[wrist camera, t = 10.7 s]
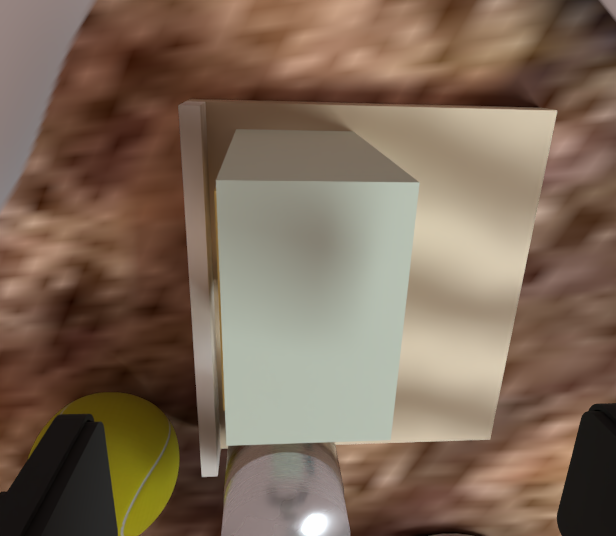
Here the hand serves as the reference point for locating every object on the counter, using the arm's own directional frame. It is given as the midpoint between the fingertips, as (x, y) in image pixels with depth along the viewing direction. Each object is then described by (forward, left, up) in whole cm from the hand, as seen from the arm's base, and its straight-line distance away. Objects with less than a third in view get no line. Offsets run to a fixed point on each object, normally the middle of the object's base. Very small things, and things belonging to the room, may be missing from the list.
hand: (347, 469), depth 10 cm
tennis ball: (-11, +9, -16) cm, 22 cm away
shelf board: (-3, -3, -16) cm, 17 cm away
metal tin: (-10, +1, -15) cm, 18 cm away
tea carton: (+1, 0, -15) cm, 15 cm away
